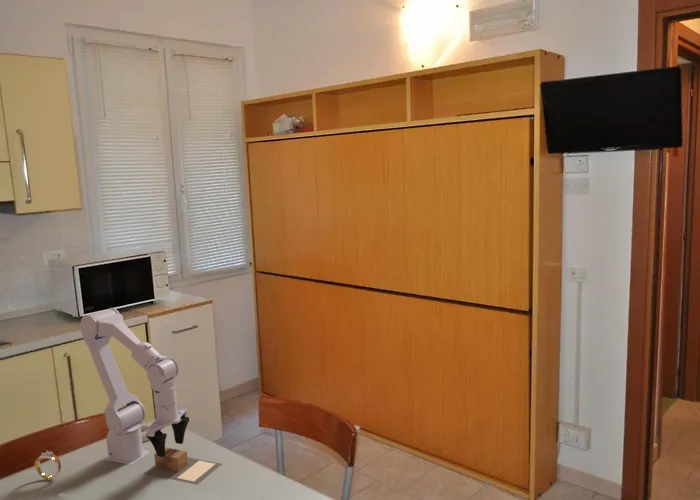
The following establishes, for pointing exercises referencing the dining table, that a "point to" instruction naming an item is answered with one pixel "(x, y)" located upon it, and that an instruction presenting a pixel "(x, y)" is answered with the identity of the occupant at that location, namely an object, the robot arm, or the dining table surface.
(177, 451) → the brown rectangular block
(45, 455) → the ring
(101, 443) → the dining table surface
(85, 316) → the robot arm
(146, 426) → the donut
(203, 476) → the mat
